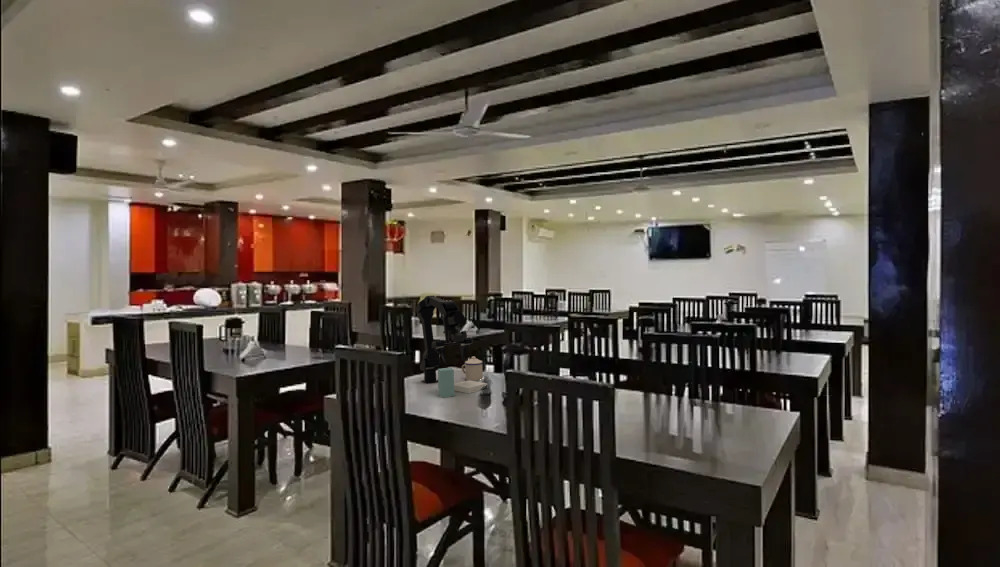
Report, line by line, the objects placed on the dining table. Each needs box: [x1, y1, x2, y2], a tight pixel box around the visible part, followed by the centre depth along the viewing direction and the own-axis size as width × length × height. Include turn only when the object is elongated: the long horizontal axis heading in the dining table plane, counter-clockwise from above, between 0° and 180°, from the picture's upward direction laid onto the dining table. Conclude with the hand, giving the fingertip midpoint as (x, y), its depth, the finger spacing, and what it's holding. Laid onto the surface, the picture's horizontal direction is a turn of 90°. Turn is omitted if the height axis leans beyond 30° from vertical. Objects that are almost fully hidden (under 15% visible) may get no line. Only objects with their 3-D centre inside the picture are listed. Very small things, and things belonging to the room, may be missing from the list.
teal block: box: [437, 367, 455, 398], centre depth 266 cm, size 5×6×12 cm
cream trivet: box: [454, 380, 488, 394], centre depth 278 cm, size 12×12×2 cm
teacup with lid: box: [461, 356, 484, 382], centre depth 301 cm, size 12×9×12 cm
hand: (454, 361), depth 273 cm, fingers open, 9 cm apart
